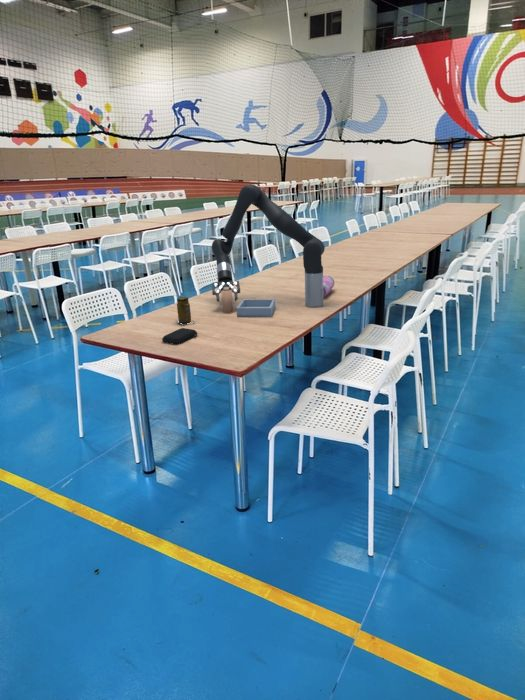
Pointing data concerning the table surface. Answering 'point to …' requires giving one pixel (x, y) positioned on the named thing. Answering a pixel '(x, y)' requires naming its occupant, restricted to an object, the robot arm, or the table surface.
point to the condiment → (183, 311)
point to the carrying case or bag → (179, 336)
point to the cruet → (227, 300)
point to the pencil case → (327, 284)
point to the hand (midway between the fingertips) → (227, 300)
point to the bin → (256, 308)
